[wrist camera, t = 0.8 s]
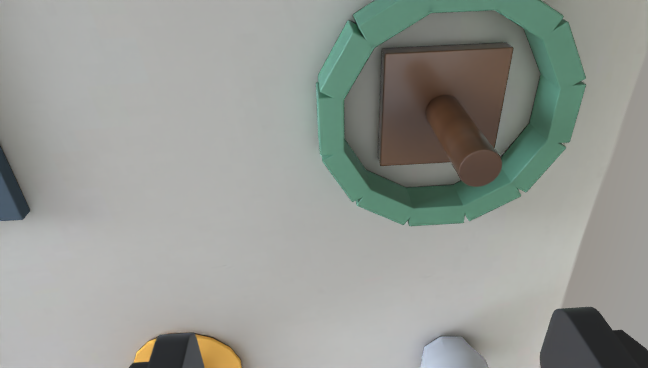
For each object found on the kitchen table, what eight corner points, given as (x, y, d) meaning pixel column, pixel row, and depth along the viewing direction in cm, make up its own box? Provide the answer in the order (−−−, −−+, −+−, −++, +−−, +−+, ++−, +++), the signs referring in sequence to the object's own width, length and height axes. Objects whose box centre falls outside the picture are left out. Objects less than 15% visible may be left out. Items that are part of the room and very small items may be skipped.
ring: (311, -22, 24) (313, -13, 22) (591, -34, 24) (618, -26, 22) (321, 209, 31) (323, 231, 29) (532, 197, 32) (548, 218, 30)
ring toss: (381, 48, 26) (410, 101, 19) (506, 42, 26) (575, 93, 20) (377, 158, 30) (400, 233, 23) (487, 152, 30) (539, 225, 23)
